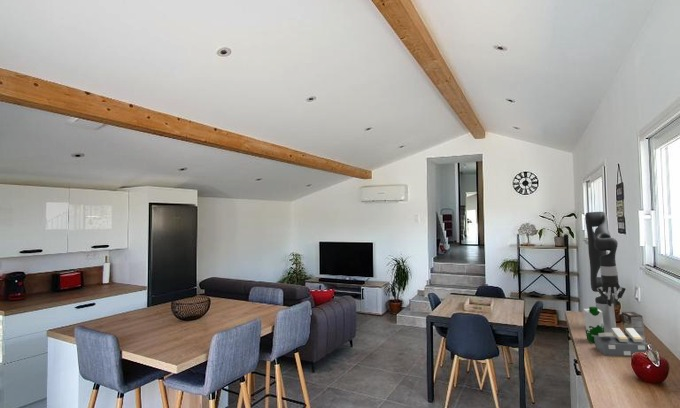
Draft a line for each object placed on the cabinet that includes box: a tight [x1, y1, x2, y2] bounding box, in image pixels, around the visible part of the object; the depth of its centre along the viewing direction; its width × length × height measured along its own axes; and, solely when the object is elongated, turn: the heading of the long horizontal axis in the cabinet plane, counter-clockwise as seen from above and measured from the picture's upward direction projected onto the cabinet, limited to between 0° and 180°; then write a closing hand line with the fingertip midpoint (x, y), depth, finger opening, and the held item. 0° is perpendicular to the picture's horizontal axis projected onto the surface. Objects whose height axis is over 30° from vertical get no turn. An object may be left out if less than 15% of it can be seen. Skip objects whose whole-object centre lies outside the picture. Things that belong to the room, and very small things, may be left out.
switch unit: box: [594, 335, 650, 357], centre depth 197 cm, size 13×20×7 cm, turn 74°
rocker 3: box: [625, 328, 643, 342], centre depth 195 cm, size 10×4×2 cm, turn 166°
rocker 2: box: [611, 327, 628, 342], centre depth 197 cm, size 10×4×2 cm, turn 166°
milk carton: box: [582, 306, 604, 344], centre depth 215 cm, size 9×9×20 cm
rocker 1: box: [598, 332, 614, 337], centre depth 199 cm, size 10×4×2 cm, turn 163°
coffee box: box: [621, 311, 646, 342], centre depth 209 cm, size 9×6×16 cm
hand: (612, 305), depth 202 cm, fingers closed
